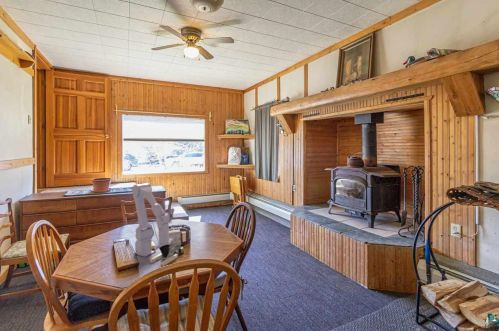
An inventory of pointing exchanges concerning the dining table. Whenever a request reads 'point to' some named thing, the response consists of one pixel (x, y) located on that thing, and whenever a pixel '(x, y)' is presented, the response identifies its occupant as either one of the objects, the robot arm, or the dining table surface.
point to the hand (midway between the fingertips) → (164, 257)
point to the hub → (169, 253)
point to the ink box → (175, 238)
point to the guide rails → (164, 260)
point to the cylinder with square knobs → (178, 249)
